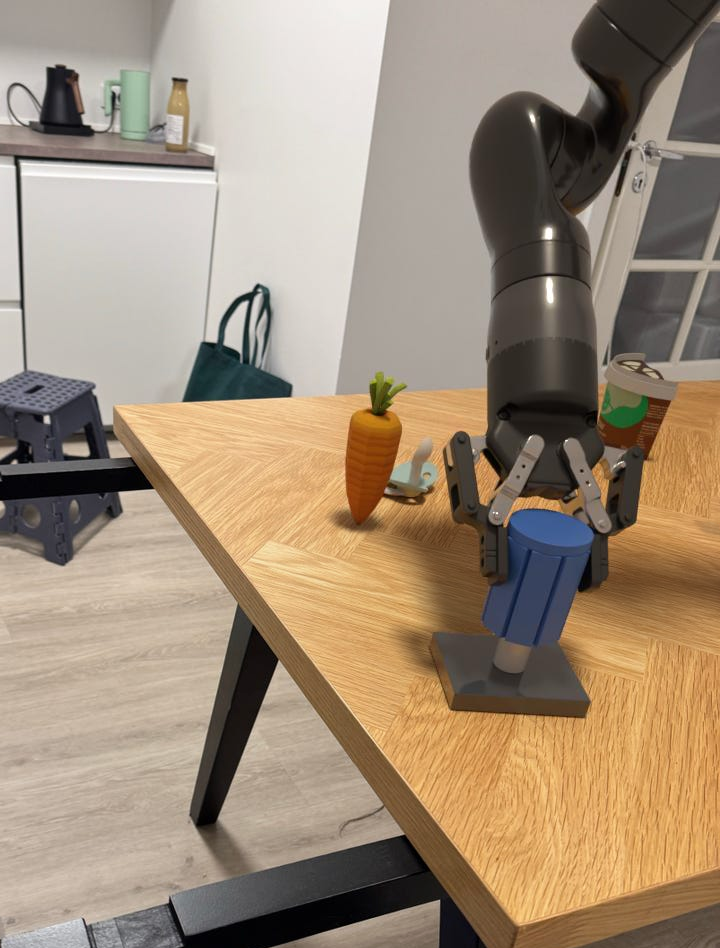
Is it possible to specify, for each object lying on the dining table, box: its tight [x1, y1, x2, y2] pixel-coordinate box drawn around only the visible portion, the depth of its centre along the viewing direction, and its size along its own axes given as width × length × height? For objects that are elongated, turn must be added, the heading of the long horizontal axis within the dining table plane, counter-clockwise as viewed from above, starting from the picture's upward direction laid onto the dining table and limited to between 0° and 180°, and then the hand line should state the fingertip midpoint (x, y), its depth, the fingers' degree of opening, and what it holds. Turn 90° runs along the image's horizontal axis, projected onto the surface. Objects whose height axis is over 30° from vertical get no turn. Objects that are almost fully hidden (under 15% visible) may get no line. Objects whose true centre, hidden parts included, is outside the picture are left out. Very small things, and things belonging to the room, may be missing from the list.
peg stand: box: [429, 630, 592, 718], centre depth 65 cm, size 10×8×10 cm
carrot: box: [344, 371, 408, 525], centre depth 83 cm, size 5×5×15 cm
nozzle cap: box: [480, 507, 594, 648], centre depth 62 cm, size 6×6×8 cm
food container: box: [597, 352, 679, 461], centre depth 110 cm, size 12×6×10 cm, turn 178°
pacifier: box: [384, 435, 439, 498], centre depth 94 cm, size 7×6×6 cm
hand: (544, 586), depth 61 cm, fingers closed on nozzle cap, 6 cm apart
